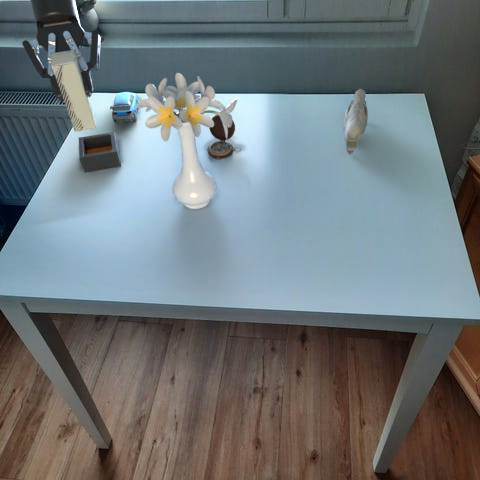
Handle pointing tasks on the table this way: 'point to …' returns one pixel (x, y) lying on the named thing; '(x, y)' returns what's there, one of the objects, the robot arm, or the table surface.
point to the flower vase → (187, 132)
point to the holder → (99, 152)
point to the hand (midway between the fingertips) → (75, 96)
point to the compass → (221, 140)
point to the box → (73, 90)
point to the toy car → (125, 107)
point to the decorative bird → (355, 120)
